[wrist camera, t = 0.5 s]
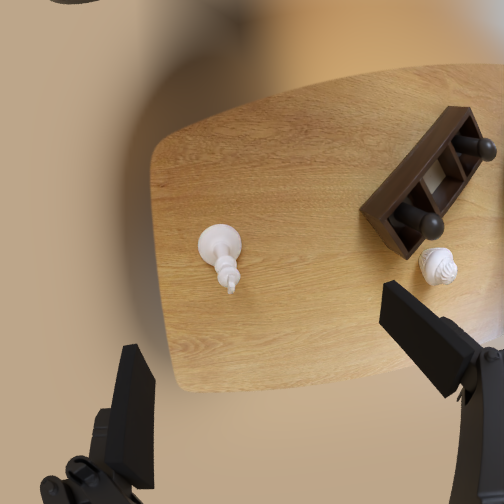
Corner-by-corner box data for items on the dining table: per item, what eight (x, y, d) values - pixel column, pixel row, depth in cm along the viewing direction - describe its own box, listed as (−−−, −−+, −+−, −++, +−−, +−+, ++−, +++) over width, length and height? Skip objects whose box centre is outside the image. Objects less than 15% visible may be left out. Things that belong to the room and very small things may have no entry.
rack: (358, 208, 35) (379, 219, 30) (447, 106, 31) (470, 107, 27) (387, 247, 38) (407, 260, 34) (467, 147, 34) (488, 151, 30)
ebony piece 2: (437, 139, 32) (484, 148, 24) (450, 122, 32) (496, 128, 24) (448, 162, 34) (493, 174, 26) (461, 145, 33) (504, 155, 25)
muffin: (442, 250, 41) (470, 268, 35) (422, 280, 42) (449, 301, 36) (426, 232, 39) (457, 250, 32) (405, 265, 40) (434, 286, 34)
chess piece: (242, 223, 32) (264, 260, 23) (240, 264, 34) (259, 312, 25) (198, 223, 31) (201, 262, 22) (197, 265, 33) (202, 314, 24)
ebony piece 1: (377, 209, 34) (422, 232, 27) (398, 186, 34) (445, 203, 26) (392, 231, 36) (435, 256, 28) (412, 209, 36) (456, 229, 28)
